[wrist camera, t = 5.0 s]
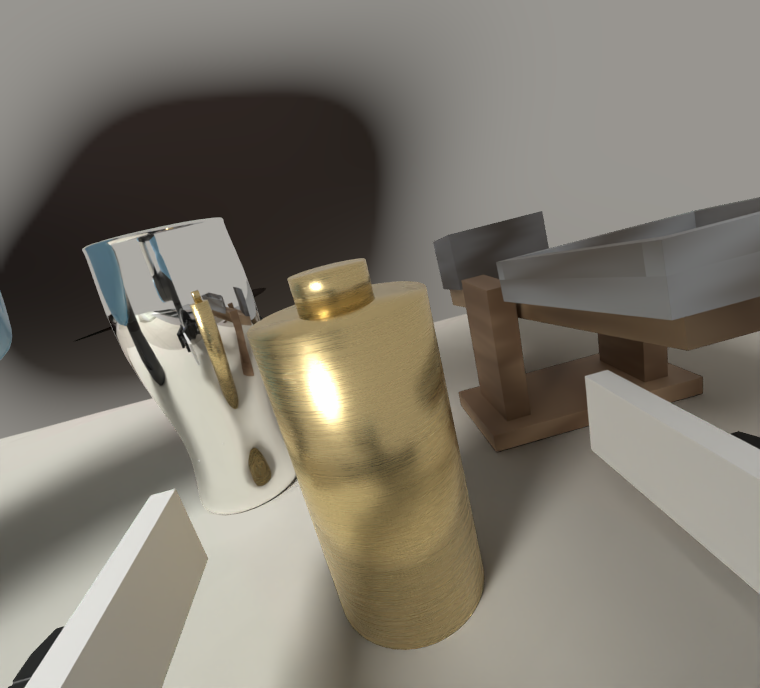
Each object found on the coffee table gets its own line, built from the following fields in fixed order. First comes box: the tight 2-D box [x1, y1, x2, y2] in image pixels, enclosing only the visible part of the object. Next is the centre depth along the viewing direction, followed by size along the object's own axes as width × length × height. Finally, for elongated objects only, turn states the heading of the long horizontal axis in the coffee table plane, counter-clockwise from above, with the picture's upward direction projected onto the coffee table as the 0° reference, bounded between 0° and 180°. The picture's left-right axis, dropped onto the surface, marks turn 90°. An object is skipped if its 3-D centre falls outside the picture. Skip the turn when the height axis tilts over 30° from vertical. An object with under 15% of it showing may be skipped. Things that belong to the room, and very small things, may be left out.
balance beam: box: [433, 197, 760, 351], centre depth 22 cm, size 10×26×6 cm, turn 8°
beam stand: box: [459, 275, 703, 452], centre depth 24 cm, size 12×6×8 cm, turn 98°
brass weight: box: [247, 258, 484, 650], centre depth 14 cm, size 6×6×12 cm
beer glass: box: [82, 218, 296, 514], centre depth 23 cm, size 7×7×15 cm
